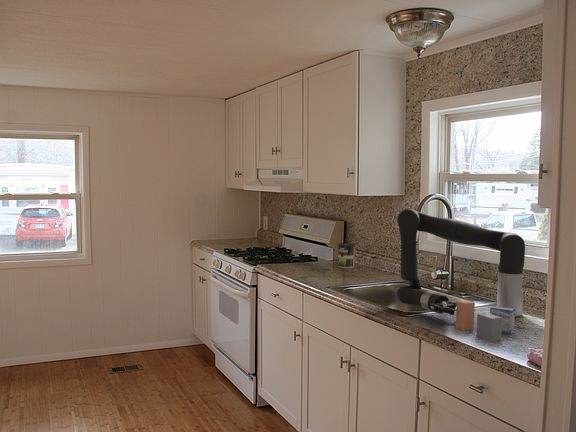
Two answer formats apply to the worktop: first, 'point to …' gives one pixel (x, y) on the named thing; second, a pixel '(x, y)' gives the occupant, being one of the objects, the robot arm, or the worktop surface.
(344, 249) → the clear container
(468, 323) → the terracotta block
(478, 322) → the slate-grey plastic block
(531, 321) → the worktop surface
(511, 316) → the medicine box
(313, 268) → the worktop surface
